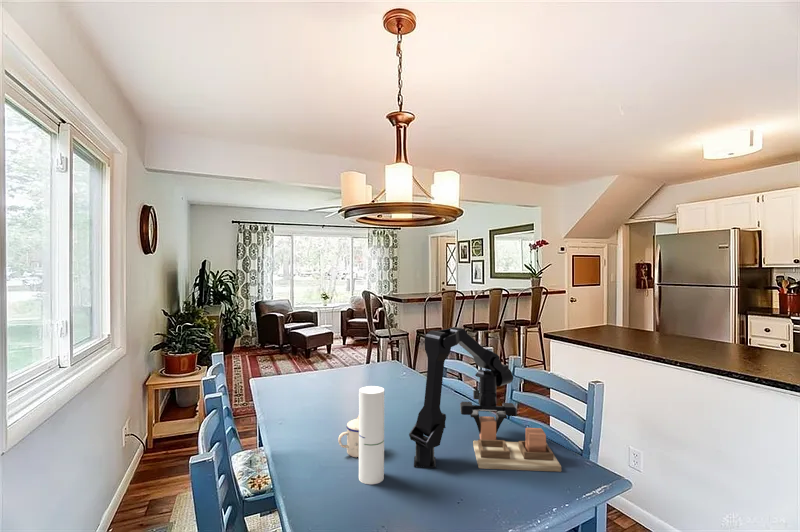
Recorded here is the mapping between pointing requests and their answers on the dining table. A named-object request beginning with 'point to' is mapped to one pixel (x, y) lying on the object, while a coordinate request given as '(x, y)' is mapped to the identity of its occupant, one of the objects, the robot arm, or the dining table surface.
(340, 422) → the dining table surface
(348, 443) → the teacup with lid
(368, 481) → the cylindrical container
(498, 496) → the dining table surface
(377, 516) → the dining table surface
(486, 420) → the loose block
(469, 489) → the dining table surface
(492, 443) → the socket board
